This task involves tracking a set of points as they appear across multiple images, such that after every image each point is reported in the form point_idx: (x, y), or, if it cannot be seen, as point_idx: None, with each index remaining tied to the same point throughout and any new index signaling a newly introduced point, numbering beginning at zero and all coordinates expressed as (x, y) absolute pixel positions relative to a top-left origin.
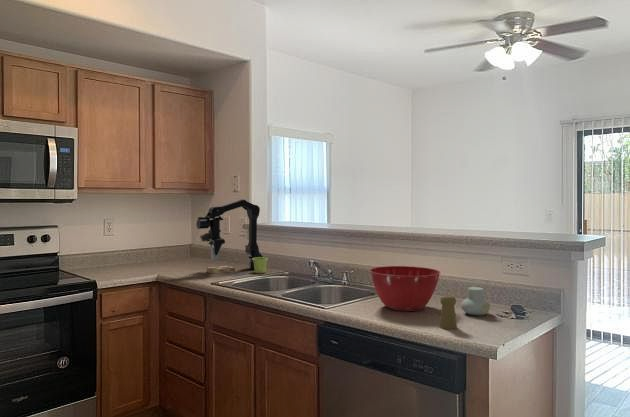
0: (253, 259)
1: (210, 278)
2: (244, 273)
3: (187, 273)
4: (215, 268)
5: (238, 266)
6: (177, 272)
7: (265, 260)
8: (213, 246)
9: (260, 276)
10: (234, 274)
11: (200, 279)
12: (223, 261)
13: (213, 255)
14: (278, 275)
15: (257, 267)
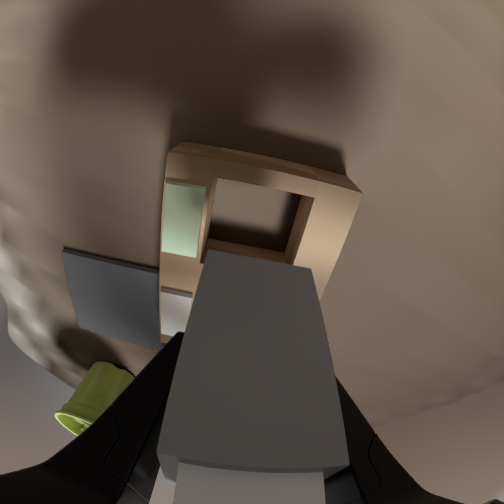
0: (74, 414)
1: (46, 77)
2: (98, 325)
3: (415, 31)
4: (177, 203)
5: (367, 400)
6: (490, 32)
7: (69, 423)
8: (176, 499)
9: (33, 327)
10: (82, 270)
11: (56, 6)
12: (489, 382)
13: (194, 304)
14: (47, 370)
15: (82, 383)
